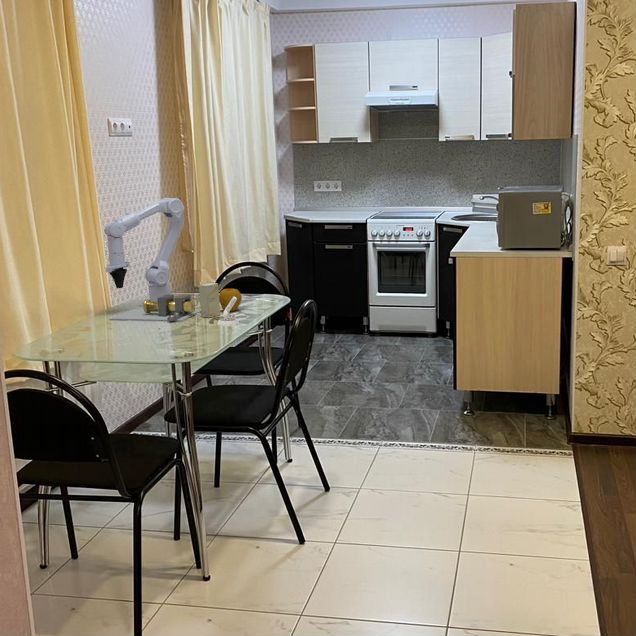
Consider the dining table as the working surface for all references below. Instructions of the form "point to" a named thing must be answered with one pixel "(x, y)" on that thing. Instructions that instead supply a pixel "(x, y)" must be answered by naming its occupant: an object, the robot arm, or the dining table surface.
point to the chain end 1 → (164, 304)
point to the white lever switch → (228, 315)
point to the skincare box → (209, 300)
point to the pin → (153, 306)
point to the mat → (147, 316)
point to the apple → (229, 298)
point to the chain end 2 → (180, 307)
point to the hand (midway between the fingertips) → (119, 288)
